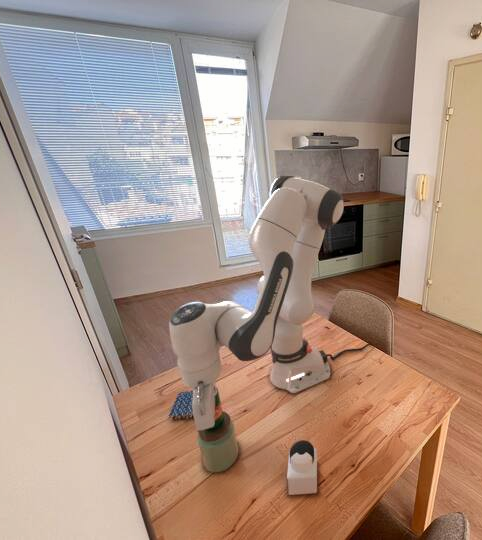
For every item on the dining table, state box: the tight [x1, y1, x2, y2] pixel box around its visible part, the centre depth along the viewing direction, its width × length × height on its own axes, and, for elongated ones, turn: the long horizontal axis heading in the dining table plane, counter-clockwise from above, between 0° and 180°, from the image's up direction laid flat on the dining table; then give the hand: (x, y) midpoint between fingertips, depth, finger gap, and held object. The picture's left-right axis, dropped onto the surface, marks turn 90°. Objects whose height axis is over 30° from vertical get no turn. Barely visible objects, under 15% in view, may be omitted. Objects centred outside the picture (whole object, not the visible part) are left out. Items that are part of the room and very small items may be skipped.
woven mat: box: [168, 390, 194, 420], centre depth 96 cm, size 10×11×2 cm
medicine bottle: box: [286, 439, 318, 496], centre depth 74 cm, size 7×7×12 cm
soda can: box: [205, 385, 224, 431], centre depth 74 cm, size 5×5×12 cm
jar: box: [196, 410, 239, 473], centre depth 79 cm, size 9×9×13 cm
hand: (211, 409), depth 74 cm, fingers open, 8 cm apart
